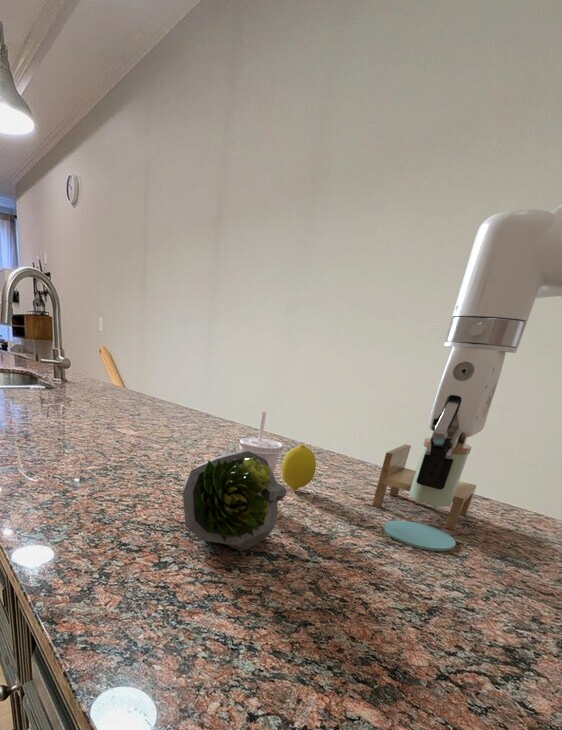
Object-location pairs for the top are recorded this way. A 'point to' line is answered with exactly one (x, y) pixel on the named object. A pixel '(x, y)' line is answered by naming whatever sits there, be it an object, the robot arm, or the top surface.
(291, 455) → the lemon
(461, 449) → the spice jar
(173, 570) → the top surface
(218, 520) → the potted plant
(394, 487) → the toy wooden bed
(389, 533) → the coaster
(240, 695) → the top surface
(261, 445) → the smoothie
